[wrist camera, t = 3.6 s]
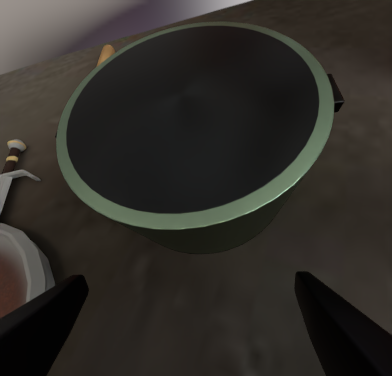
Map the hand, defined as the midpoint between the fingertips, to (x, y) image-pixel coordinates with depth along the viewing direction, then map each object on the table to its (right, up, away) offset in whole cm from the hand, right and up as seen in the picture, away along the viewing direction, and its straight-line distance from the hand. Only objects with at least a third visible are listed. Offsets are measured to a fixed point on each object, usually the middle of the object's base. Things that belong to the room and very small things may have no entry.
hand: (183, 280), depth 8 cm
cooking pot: (+1, +6, +11) cm, 12 cm away
